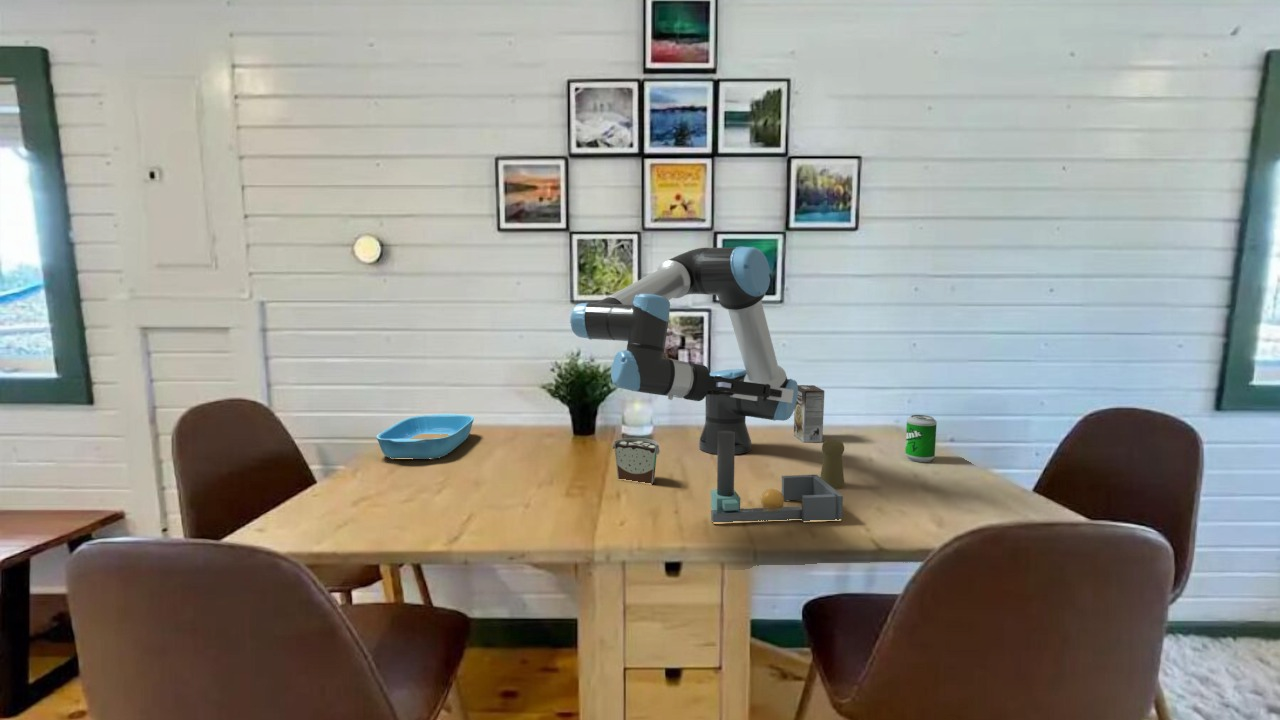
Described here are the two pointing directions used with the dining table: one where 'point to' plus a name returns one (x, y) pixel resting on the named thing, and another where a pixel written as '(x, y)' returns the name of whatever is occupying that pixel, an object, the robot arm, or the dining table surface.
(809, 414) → the coffee box
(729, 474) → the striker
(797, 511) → the rail
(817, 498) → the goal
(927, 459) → the soda can
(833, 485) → the olive pawn figure
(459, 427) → the casserole dish
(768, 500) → the ball
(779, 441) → the dining table surface
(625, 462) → the food container
